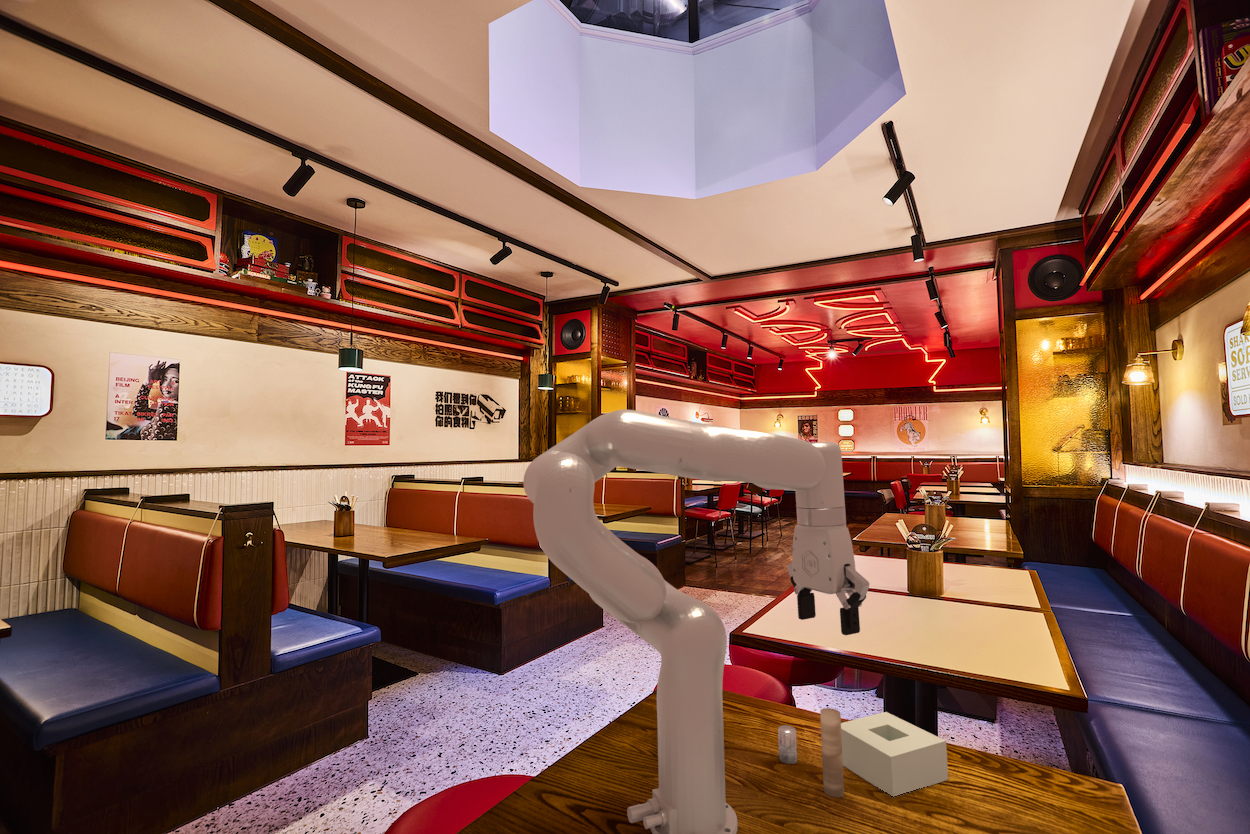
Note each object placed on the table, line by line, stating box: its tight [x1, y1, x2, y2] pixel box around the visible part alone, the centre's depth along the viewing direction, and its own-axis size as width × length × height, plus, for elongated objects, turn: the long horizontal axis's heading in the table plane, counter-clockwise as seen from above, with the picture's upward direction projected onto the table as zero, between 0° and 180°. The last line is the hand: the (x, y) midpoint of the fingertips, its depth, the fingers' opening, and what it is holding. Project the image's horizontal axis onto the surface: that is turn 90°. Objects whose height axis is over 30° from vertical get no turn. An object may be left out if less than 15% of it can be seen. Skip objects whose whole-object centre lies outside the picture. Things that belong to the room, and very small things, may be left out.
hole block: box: [841, 711, 949, 798], centre depth 96 cm, size 12×12×6 cm
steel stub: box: [777, 724, 798, 765], centre depth 100 cm, size 3×3×5 cm
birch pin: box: [819, 707, 845, 798], centre depth 90 cm, size 3×3×12 cm
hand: (827, 625), depth 92 cm, fingers open, 9 cm apart
